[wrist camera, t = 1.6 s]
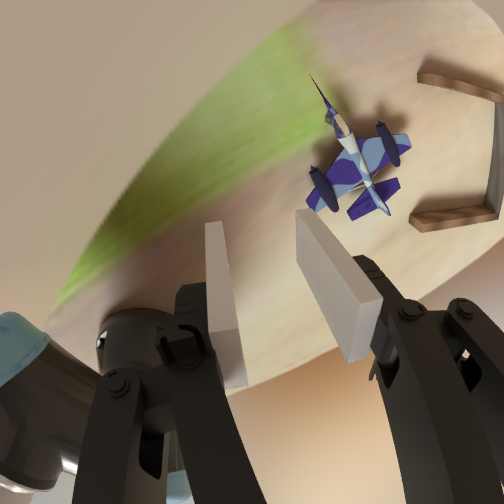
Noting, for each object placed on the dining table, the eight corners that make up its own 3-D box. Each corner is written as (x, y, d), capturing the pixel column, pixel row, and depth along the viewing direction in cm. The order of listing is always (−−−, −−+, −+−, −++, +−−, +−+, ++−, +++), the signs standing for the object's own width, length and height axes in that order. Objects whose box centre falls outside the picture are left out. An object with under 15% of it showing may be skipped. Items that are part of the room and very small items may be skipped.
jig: (408, 222, 34) (421, 233, 32) (417, 73, 24) (433, 73, 22) (486, 211, 36) (498, 219, 33) (499, 96, 26) (513, 99, 23)
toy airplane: (299, 73, 24) (311, 71, 21) (407, 119, 27) (427, 124, 24) (265, 194, 30) (272, 207, 27) (372, 218, 34) (387, 231, 30)
